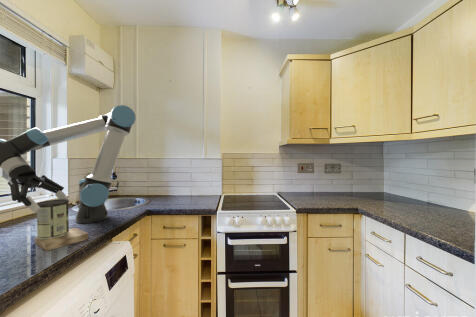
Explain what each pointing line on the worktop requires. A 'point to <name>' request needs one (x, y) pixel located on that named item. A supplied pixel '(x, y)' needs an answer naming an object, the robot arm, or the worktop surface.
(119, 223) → the worktop surface
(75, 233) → the chopping board
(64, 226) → the coffee can
